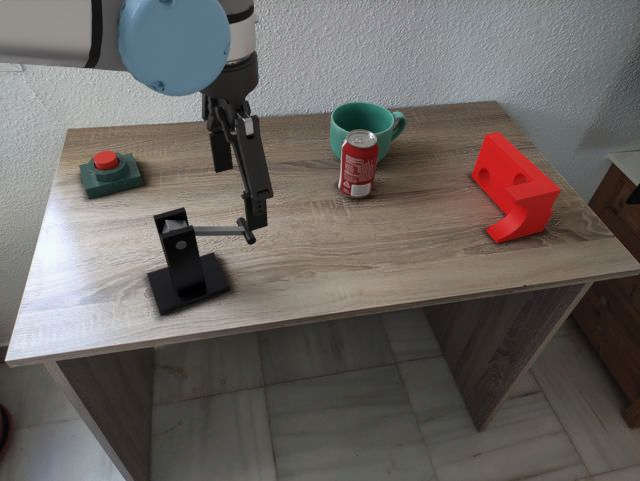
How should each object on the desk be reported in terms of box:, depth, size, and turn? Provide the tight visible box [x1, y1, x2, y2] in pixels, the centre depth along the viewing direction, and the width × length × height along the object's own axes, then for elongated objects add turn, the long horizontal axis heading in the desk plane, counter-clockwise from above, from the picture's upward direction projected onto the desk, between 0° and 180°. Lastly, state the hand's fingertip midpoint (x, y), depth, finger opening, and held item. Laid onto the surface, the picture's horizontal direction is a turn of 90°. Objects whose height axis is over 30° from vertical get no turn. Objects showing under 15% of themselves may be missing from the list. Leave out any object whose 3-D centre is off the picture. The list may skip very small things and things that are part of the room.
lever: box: [162, 216, 257, 246], centre depth 69 cm, size 13×5×2 cm, turn 117°
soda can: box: [337, 130, 379, 199], centre depth 88 cm, size 7×7×12 cm
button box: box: [78, 151, 144, 199], centre depth 90 cm, size 10×8×4 cm
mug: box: [329, 101, 407, 163], centre depth 97 cm, size 17×13×10 cm
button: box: [93, 150, 119, 171], centre depth 88 cm, size 4×4×2 cm
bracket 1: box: [146, 206, 231, 316], centre depth 69 cm, size 11×8×14 cm
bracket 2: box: [471, 131, 562, 244], centre depth 87 cm, size 18×10×10 cm
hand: (239, 196), depth 67 cm, fingers open, 13 cm apart
